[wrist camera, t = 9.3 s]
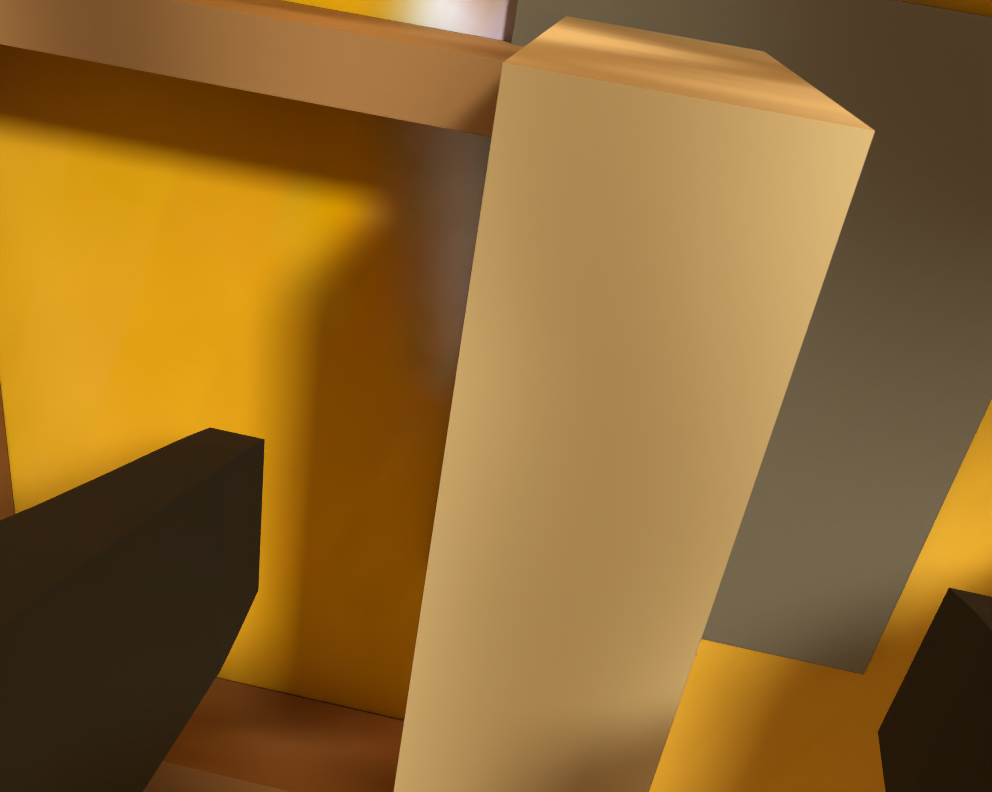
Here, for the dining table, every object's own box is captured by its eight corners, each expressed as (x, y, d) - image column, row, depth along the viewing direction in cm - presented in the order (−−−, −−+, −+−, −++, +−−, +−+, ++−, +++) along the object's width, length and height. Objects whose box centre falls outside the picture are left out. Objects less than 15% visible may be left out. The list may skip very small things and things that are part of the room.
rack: (538, 47, 14) (518, 63, 12) (390, 932, 24) (366, 1030, 22) (-119, -73, 15) (-255, -80, 12) (11, 840, 25) (-50, 925, 23)
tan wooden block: (764, 51, 13) (875, 130, 7) (618, 578, 18) (607, 911, 12) (566, 16, 13) (503, 62, 7) (472, 546, 18) (383, 857, 12)
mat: (1144, 43, 13) (1155, 45, 12) (860, 663, 18) (863, 674, 18) (530, -64, 13) (527, -65, 13) (432, 570, 19) (429, 578, 18)
